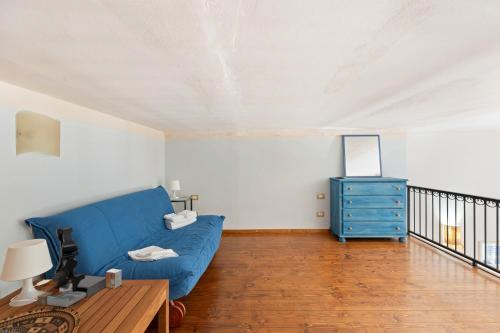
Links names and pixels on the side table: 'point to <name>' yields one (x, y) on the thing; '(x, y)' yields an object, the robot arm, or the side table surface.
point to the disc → (66, 288)
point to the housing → (92, 284)
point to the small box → (113, 278)
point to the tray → (66, 298)
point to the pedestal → (43, 298)
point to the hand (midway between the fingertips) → (67, 291)
